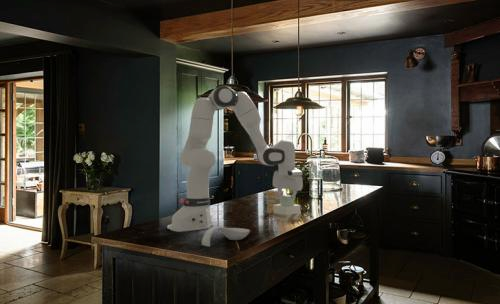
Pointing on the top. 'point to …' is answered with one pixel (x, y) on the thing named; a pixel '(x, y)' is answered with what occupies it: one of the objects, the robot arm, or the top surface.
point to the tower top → (286, 209)
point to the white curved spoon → (228, 232)
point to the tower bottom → (287, 217)
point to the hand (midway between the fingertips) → (287, 197)
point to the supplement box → (273, 200)
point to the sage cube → (287, 200)
